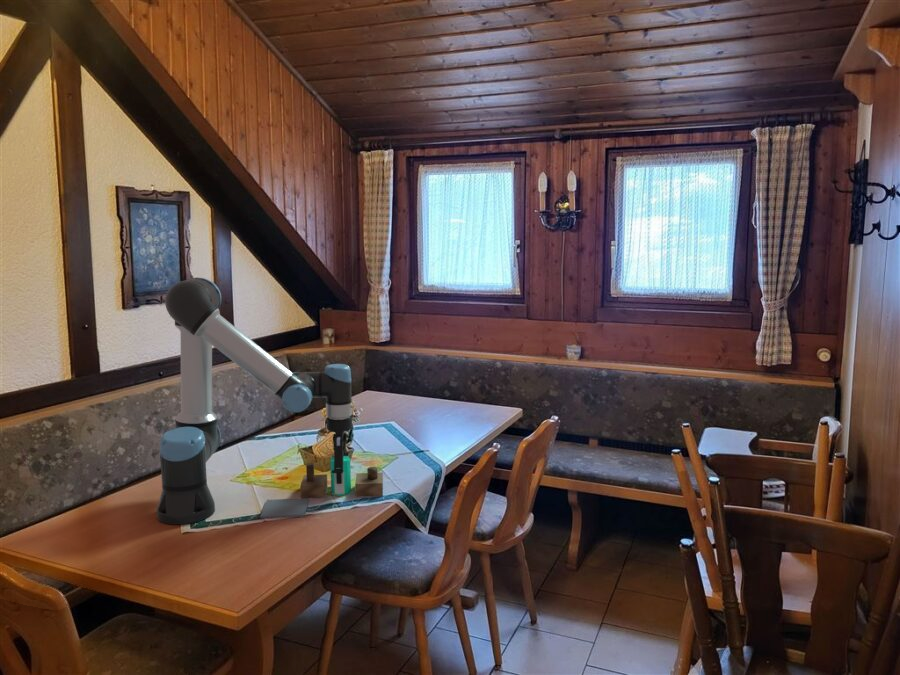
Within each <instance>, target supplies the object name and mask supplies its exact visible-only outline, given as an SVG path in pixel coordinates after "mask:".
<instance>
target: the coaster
mask: <svg viewBox="0 0 900 675" xmlns="http://www.w3.org/2000/svg"><path fill="white" fill-rule="evenodd" d="M309 502H310V498H305V499H301V498H282V499H280V498H279V499H277V498H276V499H275V498H274V499H266V501H265V503H264V506H263V508H262V511H261V513H260V515H259V519H279V518H280V519H282V518H283V519H284V518H287V519H288V518H304V517H306V516H305V515H306V512H307V508H308V506H309Z"/></svg>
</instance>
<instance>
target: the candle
mask: <svg viewBox="0 0 900 675" xmlns="http://www.w3.org/2000/svg"><path fill="white" fill-rule="evenodd" d="M329 463H330V490H331V491H330V492H331V494H332V493H333V494H335V479H334V473H332V470H334V456H333V457H330V462H329ZM351 466H352V465H351V458H350V457H349V455H348V456H343V470H344V494H335V495H334V496H346V494H347V495H350V494H351V493H352V476H351V474H352V473H351ZM336 469H341V468H336ZM350 492H351V493H350ZM333 494H332V495H333Z"/></svg>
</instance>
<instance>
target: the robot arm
mask: <svg viewBox="0 0 900 675" xmlns="http://www.w3.org/2000/svg"><path fill="white" fill-rule="evenodd" d="M221 304H222V293H221V291H220V289H219V287H218V286H217V284H216V283H214V282H213V281H212V280H210V279H208V278H205V277H190V278H187V279H185V280H181V281H178V282H176V283H175V284H173V285H171V287H170V288H168V291H167V292H166V294H165V299H164V305H165V309H166V311H167V313H168V314H169V316H170V318H172V320H174V326H175V327H176V328H177V329H178V330H179V332H180V412H179V413H178V414H177V415H176V416H175V417H174V418H175V423H174V424H175V425H174V426H175V428H173V429H171V430H168V431H166V432H164V433H163V434H162V435H161V437H160V438H159V446H158V453H159V458H160V471H161V472H160V474H161V485H162V486H161V487H162V490H161V494H160V499H159V502H158V504H157V508H156V509H157V510H156V516H157V519H158V521H159V522H161V523H163V524H167V525H187V524H192V523H196V522H201V521H203V520H206V519H208V518H210V517H211V516H213V515H214V513H215V512H216V507H215V506H216V505H215V501H214V498H213V495H212V493H211V490H210V488H209V486H208V481H207V480H208V479H207V476H208V475H207V462H208V461H209V459H210V458H211V457H212V456H213V454H215V453H216V451H217V450H218V449H219V445H220V443H221V438H222V437H221V436H222V434H221V429H220V428H219V425H218V415H217V414H216V413H215V412H214V411H213V348H215V349H216V350H218V351H219V352H220V353H221V354H223V355H224V356H225V357H227V358H229V360H231V362H233V363H235V365H237V366H239V367H240V369H242V370H243V371H245V372H246V373H247V374H248V375H250V376H251V377H252V378H254V379H255V380H256V381H257V382H259V383H260V384H261V385H263V386H264V387H265V388H266V389H268V390H269V391H270V392H272V393H273V394H274V395H275V396H276V397H278V398H279V399H280V400H281V401H282V404H283V406H284V407H285V409H287V410H288V411H289V412H292V413H301V412H304V411H305V410H306V409H307V408H309V406H310V405H311V403H312V401H313V398H314V399H315V398H316V399H317V398H322V399H323V398H325V416H327V417H326V429H327V431H329V432H331V433H333V436H332V444H333V446H332V447H333V448H332V449H333V457H334V470H332V473H334V479H335V494H344V470H343V456H348V457H349V452H348V450H347V438H348V434H347V433H346V432H349V431H350V430H352V429H353V417H352V414H353V413H352V412H353V410H352V409H354V408H355V406H354V405H353V404H352V400H353V399H352V397H353V396H352V395H353V394H352V389H353V388H352V371H351V370H352V369H351V368H350V366H349V365H348V364H344V363H331V364H327V365H326V366H325V367H324V371H319V372H318V371H317V372H315V371H313V372H312V371H311V372H309V371H308V372H306V371H303V372H300V371H299V372H298V371H295V372H292V371H291V370H289V369H288V368H287V367H286V366H285V365H284V364H282V362H280V361H278V360H277V359H276V358H275V357H274V356H272V354H270V353H269V352H268V351H267V350H265V349H264V348H262V347H261V346H259V345H258V344H257V342H255V341H254V340H252V339H251V338H250V337H249V336H247V335H246V334H244V332H242V331H241V330H240V329H238V328H237V327H236V326H234V324H232V323H231V322H230V321H228V320H227V319H226V318H225V317H224V316H222V315H221V313H220V308H221ZM336 468H341V469H336Z"/></svg>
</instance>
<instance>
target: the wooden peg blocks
mask: <svg viewBox="0 0 900 675" xmlns="http://www.w3.org/2000/svg"><path fill="white" fill-rule="evenodd" d="M305 467H306V474H304V475H303V477H302V480H301V482H300V499H305V498H309V499H325V498H326V494H327V491H326V490H328V473H327V474H326V473H325V474H324V473H322V474H315V463H314V462H307V463H306V465H305ZM366 470H367V472H366V473H359V472H358V473H356V474H355V484H354V485H355V489H354V490H355V498H362V497H365V498H367V497H383V495H384V494H383V493H384V492H383V490H384V488H383V487H384V481H383V480H384V478H383V476H384V474H383V473H384V472H378V467H376V466H370V467H368V468H367V469H366Z"/></svg>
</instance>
